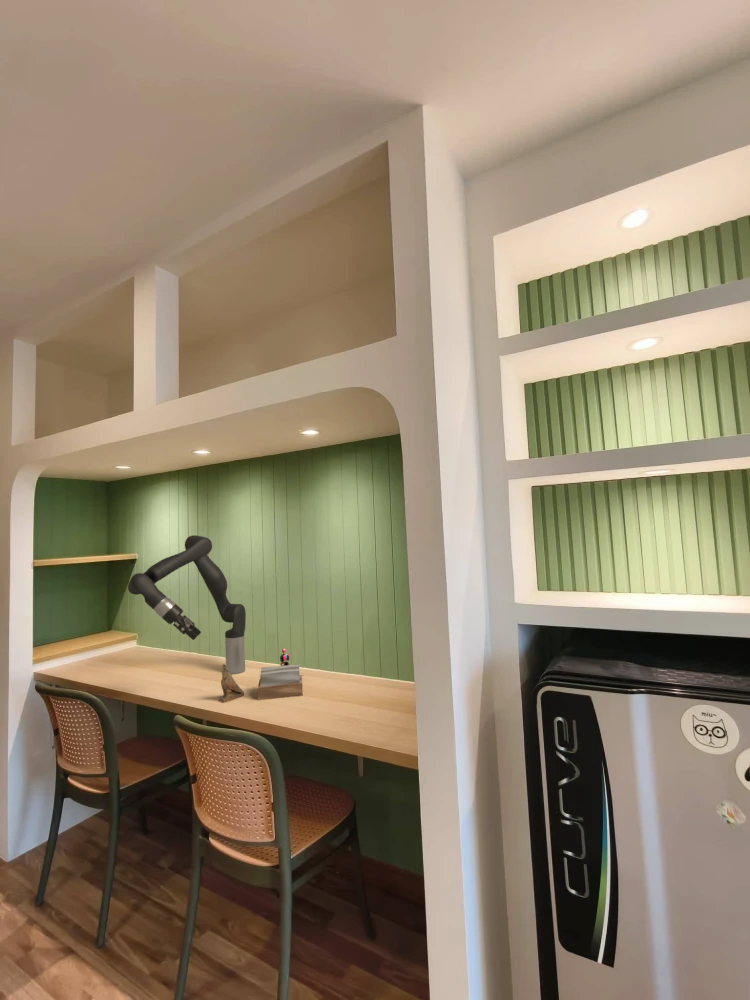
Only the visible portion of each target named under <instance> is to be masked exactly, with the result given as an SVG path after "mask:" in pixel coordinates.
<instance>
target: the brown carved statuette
mask: <svg viewBox="0 0 750 1000" xmlns="http://www.w3.org/2000/svg"><path fill="white" fill-rule="evenodd" d="M222 669H223V670H222V672H221V680H220V681H221V682H220V685H221V690H222V692H223V694H222V696H221V697H219V698H218V702H219V701H221V702H220V703H223V702H226V703H228V702H227V701H229V702H231V701H234V700H237V699H240V698H242V697H245V691H244V690H243V689H242V688H241V687H240V686H239V685H238V683H237V682H236V681H235V679H234V678H233V676H232V675H233V674H231V673H230V672H229V671H228V670H227V668H226V663H224V664H222Z"/></svg>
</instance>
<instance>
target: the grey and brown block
mask: <svg viewBox="0 0 750 1000" xmlns="http://www.w3.org/2000/svg"><path fill="white" fill-rule="evenodd" d="M259 677H260V678H259V681H258V686H257V700H258V701H262V700H263V701H265V700H274V699H284V698H291V697H292V698H293V697H303V696H304V694H303V693H304V692H303V676H302V674H300V664H289V665H287V666H281V665H279V666H278V665H277V666H265V667H261V669H260V674H259Z"/></svg>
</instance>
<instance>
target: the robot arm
mask: <svg viewBox="0 0 750 1000" xmlns="http://www.w3.org/2000/svg"><path fill="white" fill-rule="evenodd" d="M184 548H185V550H184V551H181V552H179V553H176V554H173V555H171V556H168V557H166V558H162V559H161V560H160V561H157V562H156V563H154V564H153V565H151V566H149V568H147V569H146V571H144V572H143V573H142V572H139V573H135V574H134V575H132V576H131V578H130V580H129V582H128V584H127V590H128V592H129V593H130V594H132V595H135V596H136V595H141V596H143V598H144V602H145V603H146V604H147V605H148V607H150V608H151V609H152V610H153V611H154V612H155V613H156V614H157V615H158V616H159V617H160V618H162V620H164V621H165V622H166V623H167V624H168V625H171V624H173V626H174V627H175V628H176V630H178V632H180V633H181V634H182V635H187V637H189V638H190V639H191V640H193V641H195V640H196V638H197V637H198V636H200V634H201V633H202V631H201V630H200V629H199V628H198V627H196V625H195V624H196V623H195V622H194V621H193V620H191V619H190V618H189V617H188V616H186V615H185V614H184V613H183V612H184V609H182V607H180V606H179V605H178V604H176V603H175V602H174V601H173V600H172V599H171V598H169V597H167V595H165V594H164V593H163V592H162V591H161V590H160V589H159V588H158V586H157V585H156V584H157V582H159V581H161V580H163V579H164V578H166V577H167V576H169V575H170V574H172V573H173V572H175V571H177V570H179V569H181V568H183V567H184V566H186V565H189V564H190V563H192V562H193V563H194V564H195V566H196V568H197V570H198V572H199V574H200V576H201V579H203V581H204V584H205V586H206V587H207V589H208V591H209V592H210V594H211V597H212V598H213V601H214V602H215V603H214V604H215V605H216V608H217V611H218V614H219V616H220V617H221V619H222V621H224V622H225V623H229V624H232V626H231V627H232V628H230V629H228V630H226V631H225V632H224V637H225V640H224V645H225V665H226V668H227V670H228V671H229V672H230V673H231V675H234V674H241V673H243V672H245V671H246V650H245V647H246V646H245V633H246V632H245V631H246V619H247V617H246V616H247V613H246V612H247V611H246V608H245V606H244V605H243V604H241V603H230V601H229V599H228V597H227V589H228V581H227V579H226V576H225V575H224V572H223V570H221V568H220V567H219V566H218V565H217V564H216V563H215V562H214V561H213V560H212V559H211V557H209V556H208V555H209V554H210V553H211V551H212V550H213V549H212V548H213V543H212V541H211V539H210V538H208V537H206V536H203V535H195V534H192V535H189V536H188V537H187V538H186V539H185V541H184ZM182 614H183V615H182Z"/></svg>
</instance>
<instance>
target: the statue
mask: <svg viewBox="0 0 750 1000" xmlns="http://www.w3.org/2000/svg"><path fill="white" fill-rule="evenodd" d="M281 652H282V654H280V655H279V659H280V662H281V663H280V666H287V665H290V664H289V662H288V661H290V653H285V652H286V648H282V649H281ZM301 675H302V674H301ZM302 677H304V675H302Z"/></svg>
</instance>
